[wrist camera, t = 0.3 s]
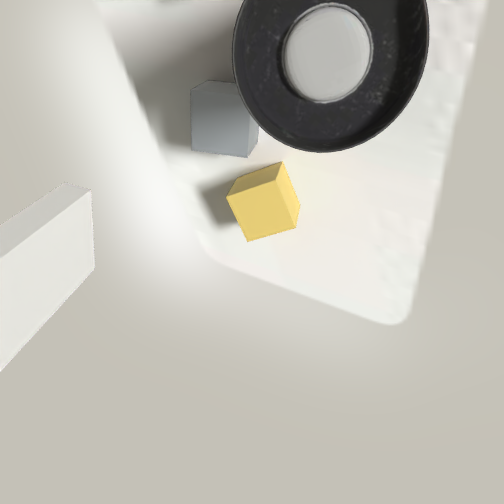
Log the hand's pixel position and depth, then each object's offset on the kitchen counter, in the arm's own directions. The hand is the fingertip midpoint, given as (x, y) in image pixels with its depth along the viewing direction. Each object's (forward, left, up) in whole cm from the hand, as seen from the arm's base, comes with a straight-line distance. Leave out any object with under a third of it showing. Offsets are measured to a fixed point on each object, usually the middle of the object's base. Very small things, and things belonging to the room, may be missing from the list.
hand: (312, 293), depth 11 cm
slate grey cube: (+1, -9, -28) cm, 30 cm away
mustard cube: (+9, -6, -28) cm, 30 cm away
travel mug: (-5, 0, -28) cm, 29 cm away
